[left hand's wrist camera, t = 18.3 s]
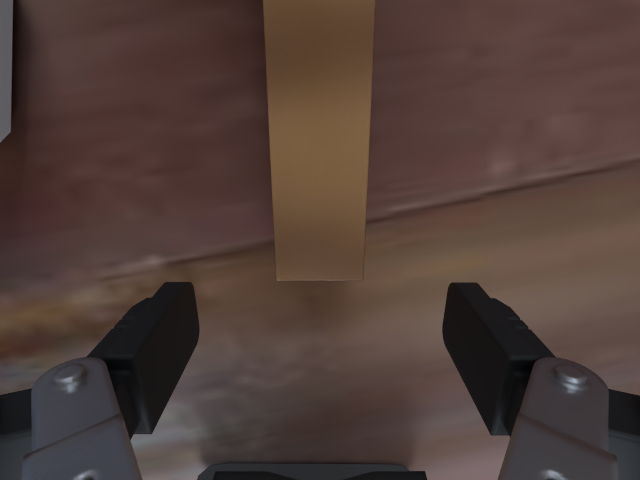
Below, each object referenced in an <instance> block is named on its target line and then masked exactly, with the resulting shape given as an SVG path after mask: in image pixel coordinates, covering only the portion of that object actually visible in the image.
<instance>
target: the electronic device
mask: <svg viewBox="0 0 640 480" xmlns="http://www.w3.org/2000/svg"><path fill="white" fill-rule="evenodd" d="M12 29H13V0H0V142H1V141H2V140H3V139H4V138H5V137H6V136H7V135H8V134H9V133H10V132H11V88H12Z"/></svg>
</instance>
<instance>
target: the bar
mask: <svg viewBox="0 0 640 480" xmlns="http://www.w3.org/2000/svg"><path fill="white" fill-rule="evenodd" d="M375 9H376V0H263V18H264V39H265V60H266V81H267V101H268V122H269V143H270V164H271V185H272V206H273V227H274V247H275V268H276V280H277V281H362V280H363V274H364V252H365V230H366V208H367V186H368V163H369V141H370V119H371V97H372V75H373V53H374V31H375Z"/></svg>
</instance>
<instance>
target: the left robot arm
mask: <svg viewBox="0 0 640 480" xmlns="http://www.w3.org/2000/svg"><path fill="white" fill-rule="evenodd" d="M442 332H443V340H444V343H445V346H446V348H447V350H448V352H449V354H450V356H451V358H452V360H453V362H454V364H455V366H456V368H457V370H458V372H459V374H460V376H461V377H462V379H463V381H464V383H465V385H466V387H467V389H468V391H469V393H470V395H471V397H472V399H473V401H474V403H475V405H476V407H477V409H478V411H479V413H480V415H481V417H482V419H483V421H484V423H485V425H486V427H487V428H488V430H489V432H490V434H491V435H509V436H510V441H509V444H508V448H507V451H506V454H505V457H504V461H503V464H502V467H501V470H500V474H499V477H498V480H640V396H639V395H634V394H629V393H625V392H620V391H615V390H611V389H608V387H607V385H606V384H605V382H604V381H603V380H602V379H601V378H600V377H599V376H598V375H597V374H595V373H594V372H593V371H591V370H590V369H588V368H586V367H584V366H582V365H580V364H578V363H575V362H573V361H570V360H566V359H562V358H556V357H555V356H554V355H553V354H552V353H551V351H550V350H549V349H548V348H547V347H546V346H545V345H544V344H543V343H542V342H541V341H540V339H539V338H538V337H537V336H536V335H535V334H534V333H533V332H532V331H531V330H529V329H528V326H527V325H526V324H525V323H524V322H523V321H522V320H520V318H519V316H518V315H517V314H516V313H515V312H514V311H513V310H512V309H511V308H510V307H509V306H507V305H505V304H504V303H502V302H500V301H499V300H497V299H495V298H490V297H489V296H488V295H487V294H486V292H485V291H484V290H483V289H482V288H481V287H480V285H479V284H478V283H451V284H450V285H449V287H448V292H447V299H446V306H445V312H444V319H443V328H442ZM198 338H199V320H198V313H197V306H196V299H195V292H194V287H193V284H192V283H191V282H165V283H164V284H163V285H162V286H161V287H160V289H159V290H158V291H157V292H156V293H155V294H154V296H153V297H152V298H146V299H144V300H143V301H141V302H139V303H138V304H136V305H134V306H133V307H131V309H130V310H129V311H128V312H127V313H126V314H125V315H124V316H123V317H122V320H120V321H119V322H118V323H117V324H116V325H115V326H114V329H111V331H110V332H109V333H108V334H107V335H106V336H105V337H104V338H103V339H102V340H101V342H100V343H99V344H98V345H97V346H96V347H95V348H94V349H93V350H92V351H91V353H90V354H89V355H88V356H87V357H84V358H78V359H74V360H70V361H67V362H65V363H62V364H60V365H58V366H56V367H54V368H52V369H50V370H49V371H47V372H46V373H45V374H43V375H42V376H41V377H40V378H39V379H38V380H37V381H36V382H35V384H34V385H33V387H32V389H27V390H22V391H18V392H13V393H8V394H4V395H0V480H142V477H141V474H140V470H139V467H138V464H137V461H136V457H135V454H134V451H133V448H132V444H131V441H130V440H131V438H132V436H133V434H152V433H153V431H154V429H155V427H156V425H157V423H158V421H159V419H160V417H161V415H162V413H163V411H164V409H165V407H166V405H167V403H168V401H169V399H170V397H171V395H172V393H173V391H174V389H175V387H176V385H177V383H178V381H179V379H180V377H181V375H182V373H183V371H184V369H185V367H186V365H187V363H188V361H189V359H190V357H191V355H192V353H193V351H194V349H195V347H196V345H197V342H198ZM213 480H297V479H294V478H290V477H286V476H282V475H279V474H275V473H271V472H267V471H215V474H214V477H213ZM343 480H427V477H426V474H425V471H373V472H369V473H365V474H361V475H358V476H354V477H350V478H346V479H343Z"/></svg>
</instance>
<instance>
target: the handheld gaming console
mask: <svg viewBox="0 0 640 480" xmlns="http://www.w3.org/2000/svg"><path fill="white" fill-rule="evenodd" d="M215 471H267V472H271V473H275V474H279V475H282V476H286V477H290V478H294V479H297V480H343V479H346V478H350V477H354V476H358V475H361V474H365V473H369V472H373V471H409V470H408V469H407V468H406V467H404V466H398V465H390V464H243V463H227V464H218V465H211V466H209V467H208V468H207V469H206V470H205V471H203V472H202V473H201V474H200V475H199V476H198V479H197V480H213V477H214V474H215Z"/></svg>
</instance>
